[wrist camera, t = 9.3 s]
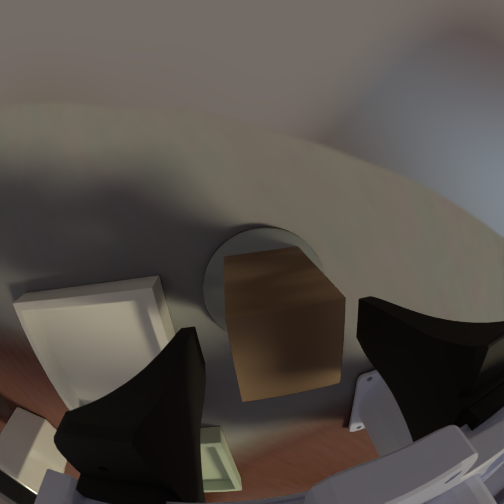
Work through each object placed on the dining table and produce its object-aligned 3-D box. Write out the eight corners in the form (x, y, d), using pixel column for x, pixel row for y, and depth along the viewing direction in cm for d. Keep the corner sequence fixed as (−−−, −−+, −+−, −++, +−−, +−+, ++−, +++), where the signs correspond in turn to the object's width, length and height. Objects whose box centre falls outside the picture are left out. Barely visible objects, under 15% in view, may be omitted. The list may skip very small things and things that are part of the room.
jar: (67, 459, 21) (46, 526, 10) (16, 425, 19) (-15, 486, 8) (78, 438, 20) (50, 522, 8) (17, 396, 17) (-26, 471, 6)
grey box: (159, 275, 15) (151, 287, 14) (200, 407, 19) (199, 424, 17) (25, 292, 15) (12, 303, 13) (82, 405, 18) (75, 419, 16)
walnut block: (297, 246, 15) (345, 297, 9) (301, 310, 16) (339, 382, 10) (224, 256, 15) (224, 318, 9) (234, 321, 16) (242, 402, 10)
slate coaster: (318, 219, 15) (321, 221, 15) (322, 325, 17) (324, 329, 17) (193, 236, 15) (191, 239, 14) (215, 343, 17) (215, 348, 16)
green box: (220, 426, 19) (220, 442, 18) (240, 477, 23) (242, 490, 21) (104, 425, 19) (99, 439, 17) (147, 478, 22) (145, 489, 20)
